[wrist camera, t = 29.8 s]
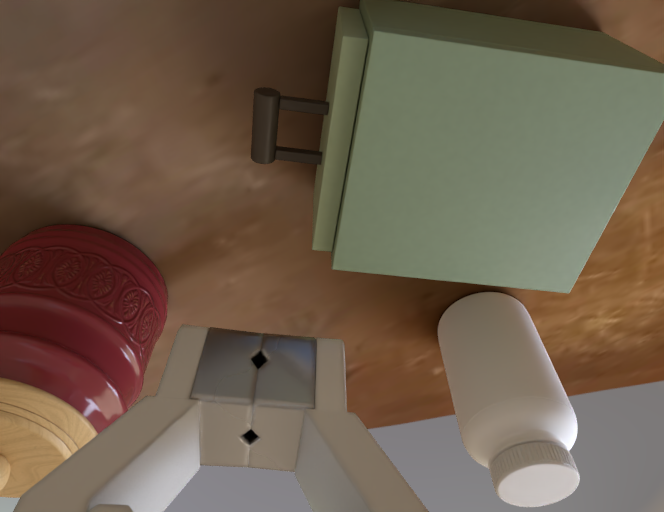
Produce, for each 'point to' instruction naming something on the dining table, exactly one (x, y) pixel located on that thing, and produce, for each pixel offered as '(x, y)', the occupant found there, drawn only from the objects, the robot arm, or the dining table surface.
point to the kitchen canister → (70, 344)
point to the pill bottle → (509, 399)
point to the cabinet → (489, 146)
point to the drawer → (335, 124)
